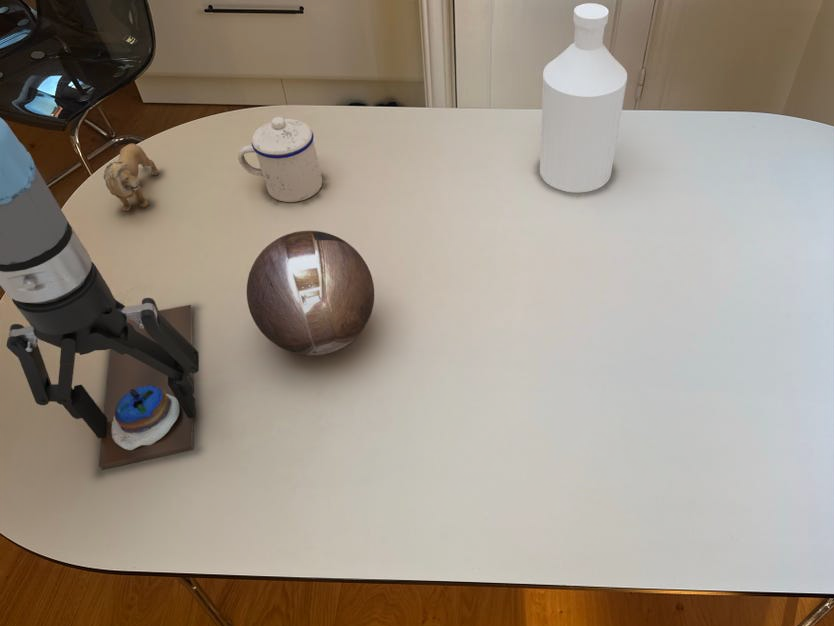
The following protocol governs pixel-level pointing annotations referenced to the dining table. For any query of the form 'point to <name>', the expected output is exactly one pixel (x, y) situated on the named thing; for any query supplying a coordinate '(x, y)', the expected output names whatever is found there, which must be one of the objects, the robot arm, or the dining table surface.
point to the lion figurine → (128, 175)
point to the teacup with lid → (285, 159)
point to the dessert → (143, 417)
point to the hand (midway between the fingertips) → (147, 418)
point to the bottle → (581, 107)
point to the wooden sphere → (310, 292)
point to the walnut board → (136, 374)
